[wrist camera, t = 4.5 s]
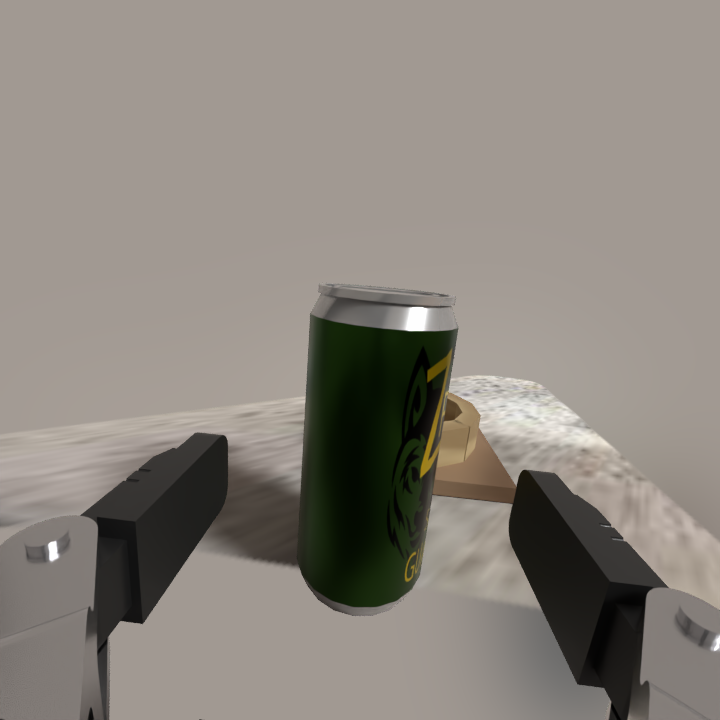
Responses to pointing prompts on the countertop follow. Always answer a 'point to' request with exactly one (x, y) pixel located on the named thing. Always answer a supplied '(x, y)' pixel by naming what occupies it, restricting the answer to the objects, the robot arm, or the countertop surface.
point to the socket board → (469, 458)
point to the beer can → (371, 441)
